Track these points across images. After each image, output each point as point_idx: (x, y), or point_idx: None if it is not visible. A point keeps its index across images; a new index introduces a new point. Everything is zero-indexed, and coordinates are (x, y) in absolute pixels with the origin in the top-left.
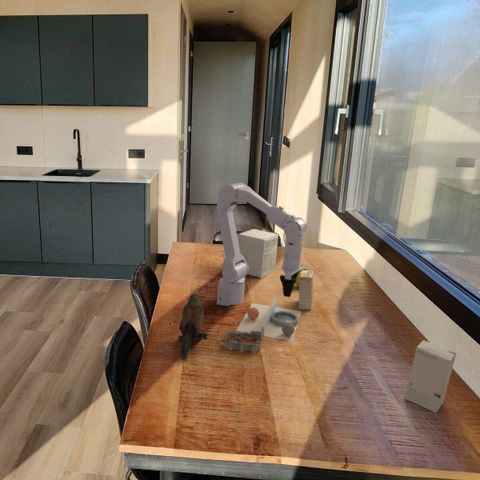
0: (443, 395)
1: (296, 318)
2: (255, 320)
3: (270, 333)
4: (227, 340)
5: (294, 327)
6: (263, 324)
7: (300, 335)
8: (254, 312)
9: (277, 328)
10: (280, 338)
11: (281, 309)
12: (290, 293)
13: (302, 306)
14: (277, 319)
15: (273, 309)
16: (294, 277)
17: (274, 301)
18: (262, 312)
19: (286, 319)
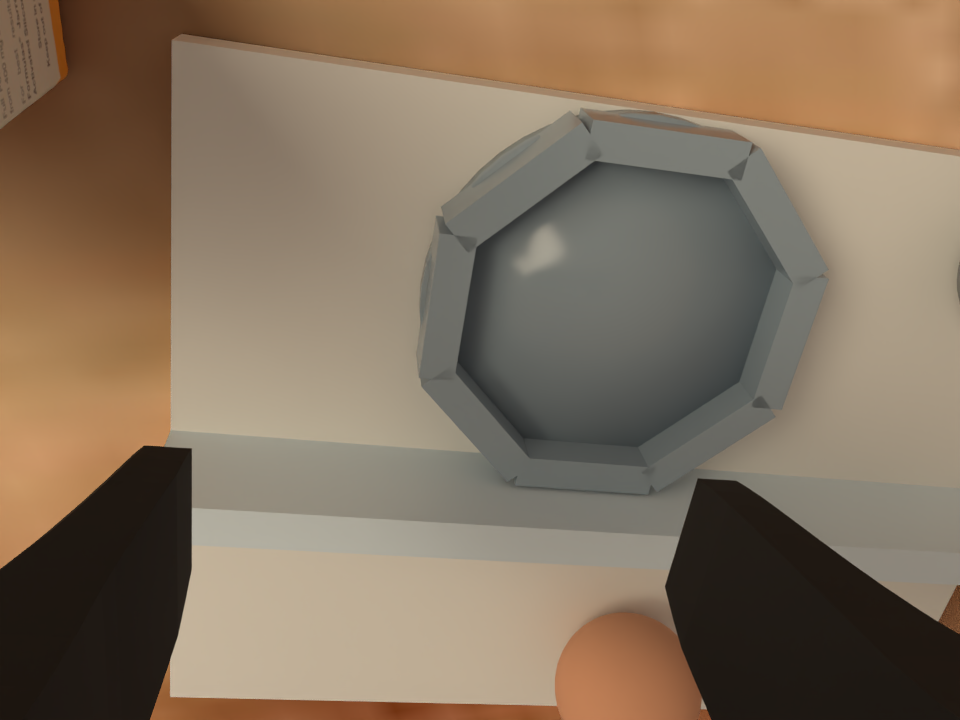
0: None
1: (656, 155)
2: (648, 604)
3: (954, 435)
4: None
5: (793, 161)
6: None
7: (918, 62)
8: (699, 701)
9: (832, 373)
10: None
11: (227, 360)
12: (799, 534)
13: (34, 25)
14: (635, 400)
15: (474, 503)
16: (74, 696)
17: (248, 535)
18: (415, 568)
19: (618, 288)
